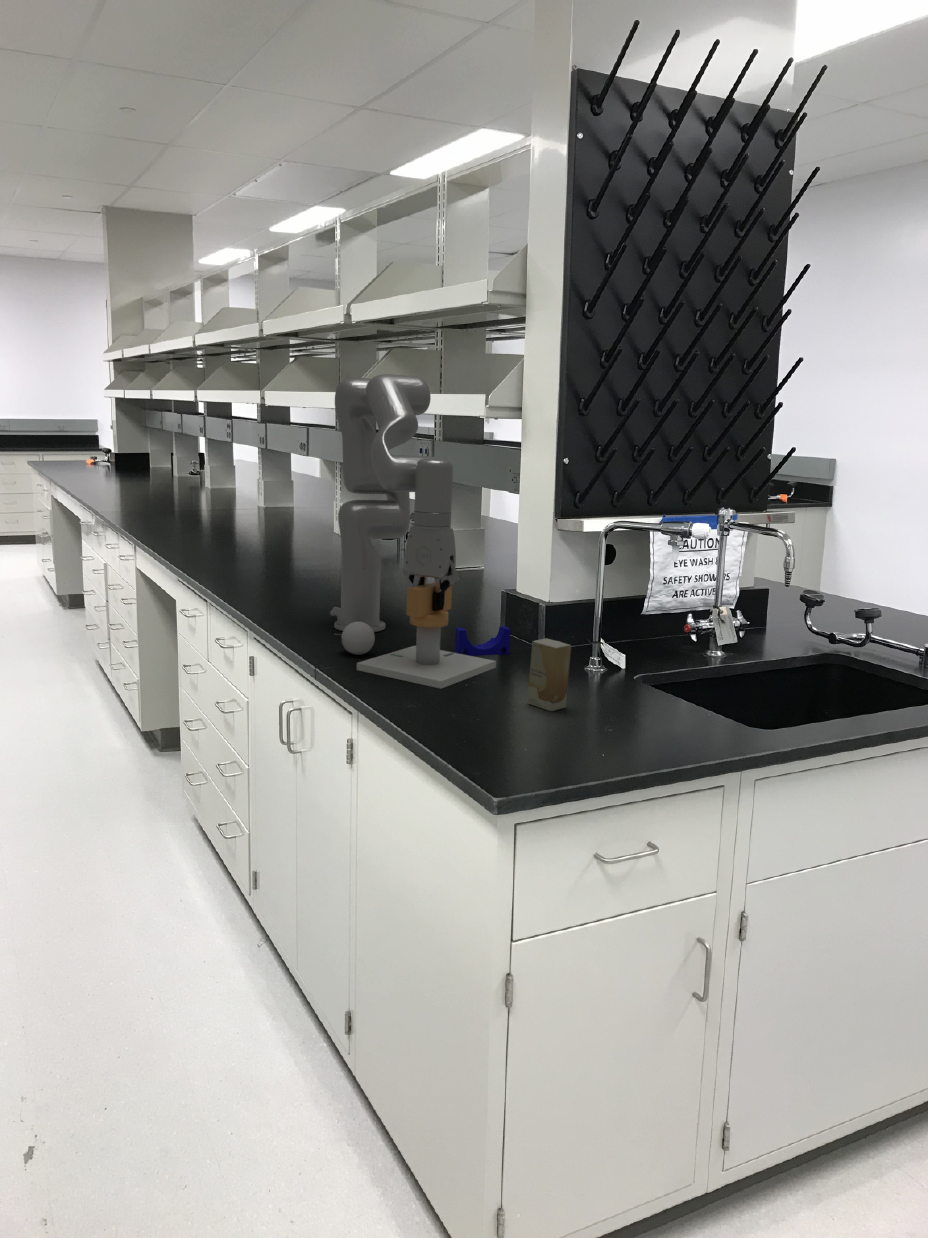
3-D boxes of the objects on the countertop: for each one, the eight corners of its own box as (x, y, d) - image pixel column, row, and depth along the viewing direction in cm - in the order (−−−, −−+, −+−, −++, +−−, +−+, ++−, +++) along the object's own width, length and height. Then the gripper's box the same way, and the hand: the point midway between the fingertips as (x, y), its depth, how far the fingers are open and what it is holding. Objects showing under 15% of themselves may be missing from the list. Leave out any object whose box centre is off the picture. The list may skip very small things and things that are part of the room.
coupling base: (356, 670, 194) (357, 623, 192) (415, 651, 211) (417, 609, 209) (440, 688, 183) (442, 639, 181) (495, 667, 200) (498, 622, 198)
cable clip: (502, 650, 217) (503, 624, 216) (509, 654, 213) (510, 628, 211) (452, 652, 213) (453, 626, 212) (458, 656, 209) (459, 630, 208)
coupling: (428, 630, 188) (429, 591, 186) (396, 625, 192) (397, 586, 190) (460, 621, 198) (462, 584, 196) (429, 616, 202) (430, 579, 200)
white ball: (381, 653, 208) (382, 621, 206) (361, 660, 202) (361, 627, 200) (345, 646, 213) (345, 615, 211) (324, 653, 206) (325, 620, 205)
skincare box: (526, 704, 175) (530, 640, 173) (541, 700, 178) (545, 637, 176) (552, 712, 171) (556, 647, 168) (567, 708, 174) (572, 644, 171)
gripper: (388, 517, 192) (386, 605, 195) (456, 525, 183) (452, 617, 187) (410, 515, 198) (407, 601, 202) (476, 522, 189) (472, 611, 193)
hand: (429, 607), depth 194 cm, fingers open, 3 cm apart
